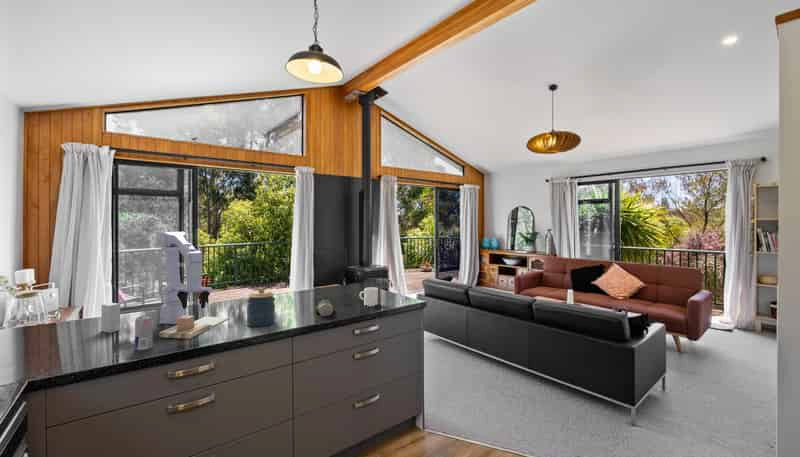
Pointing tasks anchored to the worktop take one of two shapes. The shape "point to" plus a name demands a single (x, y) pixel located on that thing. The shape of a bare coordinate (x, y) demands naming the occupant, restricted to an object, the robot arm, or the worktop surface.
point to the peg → (185, 323)
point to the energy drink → (143, 333)
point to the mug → (370, 296)
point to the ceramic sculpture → (324, 308)
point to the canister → (260, 308)
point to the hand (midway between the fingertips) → (194, 308)
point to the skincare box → (110, 317)
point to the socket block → (184, 331)
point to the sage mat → (211, 320)
